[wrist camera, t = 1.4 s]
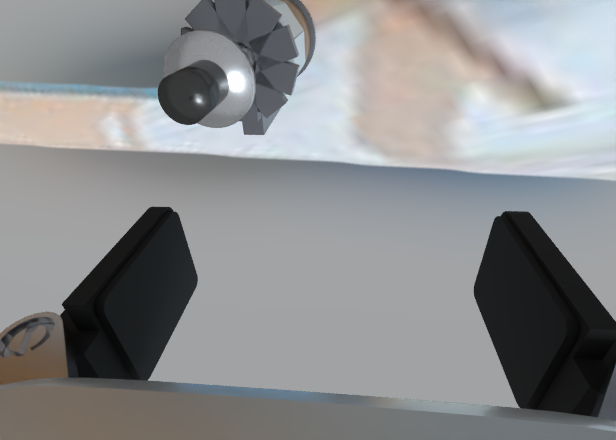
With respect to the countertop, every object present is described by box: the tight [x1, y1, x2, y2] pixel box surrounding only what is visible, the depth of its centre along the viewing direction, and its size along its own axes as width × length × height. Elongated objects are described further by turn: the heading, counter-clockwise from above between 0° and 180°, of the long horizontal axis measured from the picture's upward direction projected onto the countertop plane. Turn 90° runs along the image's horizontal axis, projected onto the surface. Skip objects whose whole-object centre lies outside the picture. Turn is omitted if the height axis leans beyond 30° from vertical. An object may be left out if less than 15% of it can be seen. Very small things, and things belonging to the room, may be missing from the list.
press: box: [181, 0, 316, 135], centre depth 35 cm, size 10×12×15 cm
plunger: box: [158, 29, 257, 128], centre depth 25 cm, size 6×6×13 cm
